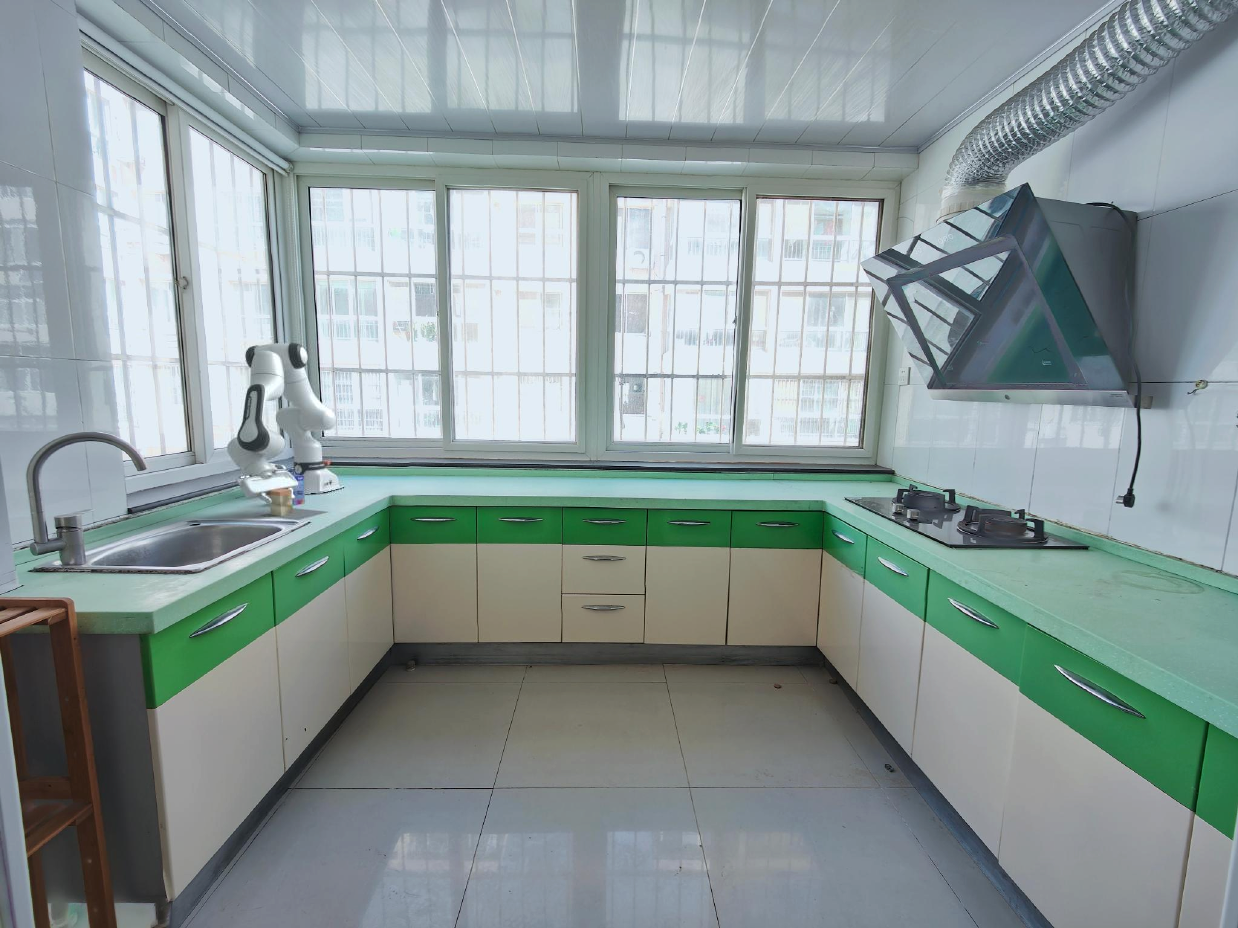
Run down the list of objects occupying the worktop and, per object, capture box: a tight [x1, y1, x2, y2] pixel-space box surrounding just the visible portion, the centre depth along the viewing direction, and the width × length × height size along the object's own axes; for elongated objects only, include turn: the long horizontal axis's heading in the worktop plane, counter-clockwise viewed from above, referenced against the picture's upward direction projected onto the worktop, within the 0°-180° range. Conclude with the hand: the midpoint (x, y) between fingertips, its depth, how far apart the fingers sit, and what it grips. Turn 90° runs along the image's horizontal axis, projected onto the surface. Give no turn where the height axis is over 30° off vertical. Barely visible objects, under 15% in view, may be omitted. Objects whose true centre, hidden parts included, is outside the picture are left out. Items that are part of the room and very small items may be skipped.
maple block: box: [268, 489, 294, 516], centre depth 200 cm, size 5×5×9 cm
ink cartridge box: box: [287, 468, 306, 506], centre depth 218 cm, size 10×6×14 cm, turn 70°
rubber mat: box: [259, 507, 328, 521], centre depth 201 cm, size 14×18×1 cm
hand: (282, 501), depth 199 cm, fingers open, 8 cm apart
